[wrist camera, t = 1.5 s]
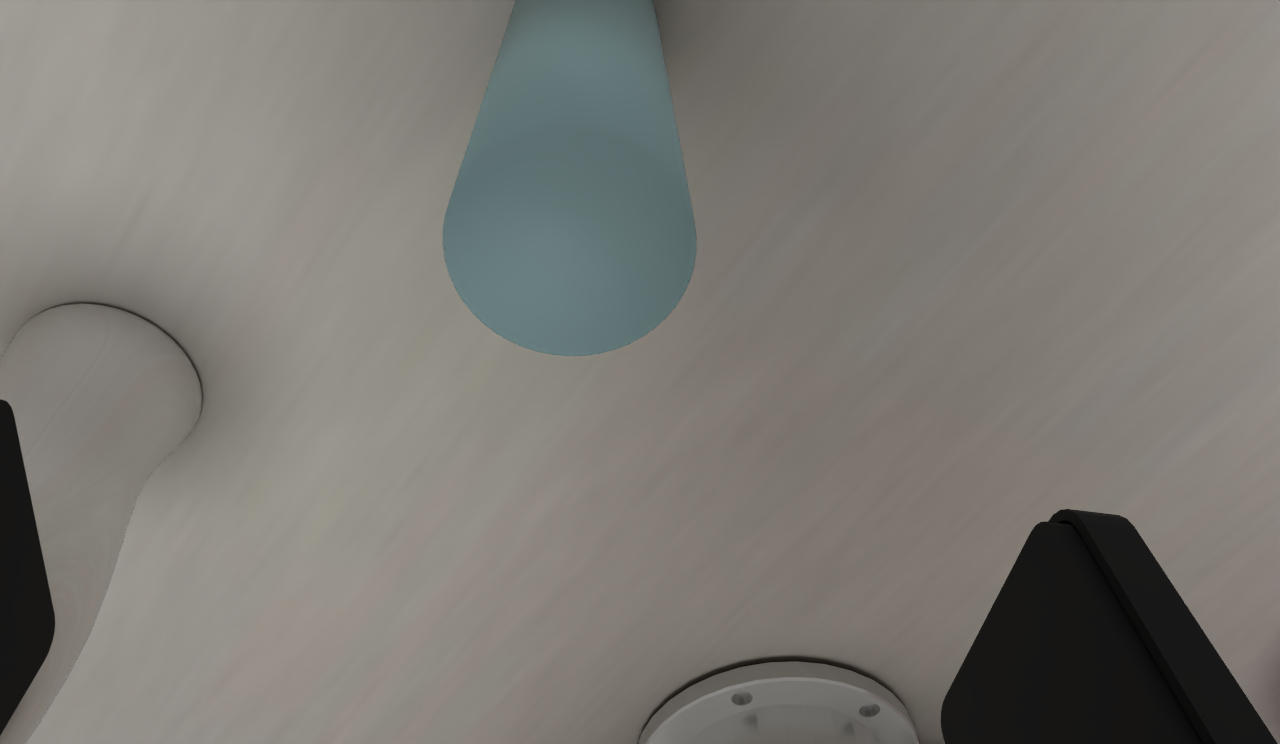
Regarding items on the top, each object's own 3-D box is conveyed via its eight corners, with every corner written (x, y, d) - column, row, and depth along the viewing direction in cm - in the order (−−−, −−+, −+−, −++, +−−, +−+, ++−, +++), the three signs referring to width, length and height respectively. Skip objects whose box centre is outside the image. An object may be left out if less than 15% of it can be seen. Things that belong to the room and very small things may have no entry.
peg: (669, -35, 27) (721, 148, 15) (643, 110, 29) (670, 370, 17) (520, -62, 26) (452, 104, 14) (504, 87, 28) (434, 338, 17)
